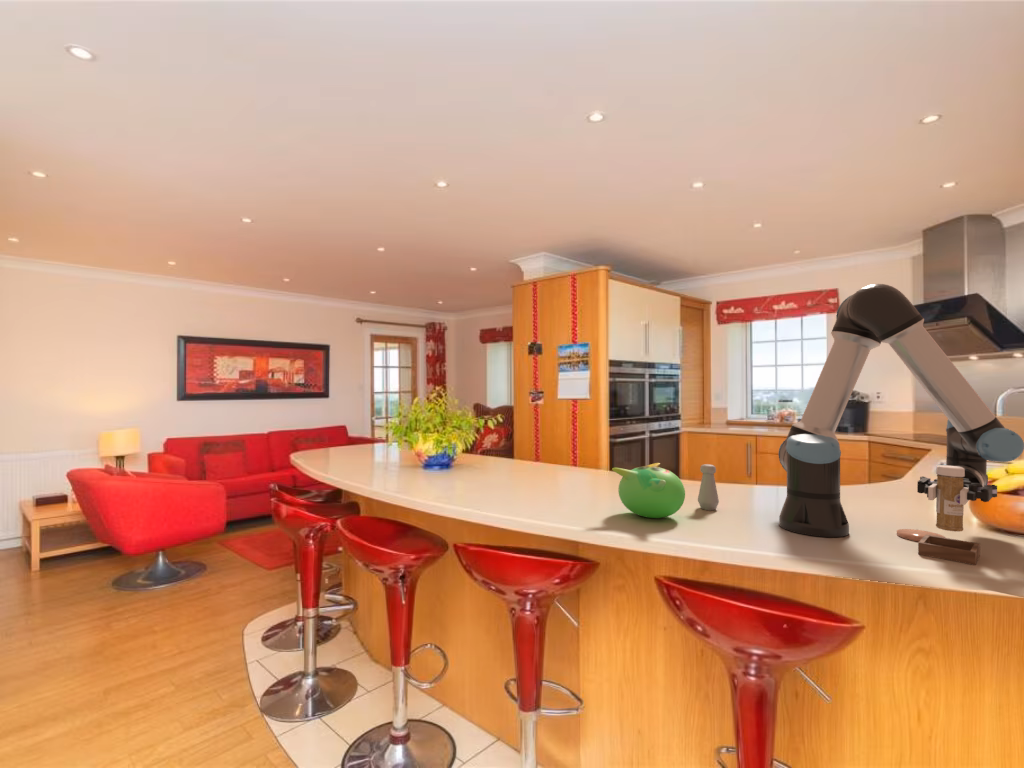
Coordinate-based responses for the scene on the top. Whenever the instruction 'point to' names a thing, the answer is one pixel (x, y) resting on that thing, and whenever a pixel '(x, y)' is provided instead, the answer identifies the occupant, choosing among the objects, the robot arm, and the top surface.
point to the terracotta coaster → (915, 534)
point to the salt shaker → (708, 488)
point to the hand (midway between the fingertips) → (946, 495)
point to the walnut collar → (949, 549)
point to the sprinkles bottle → (949, 497)
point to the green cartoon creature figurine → (650, 491)
